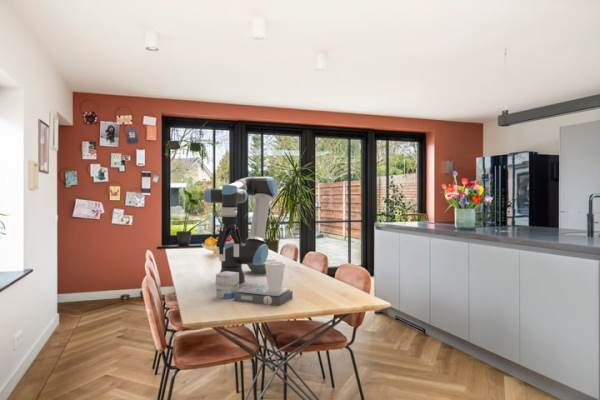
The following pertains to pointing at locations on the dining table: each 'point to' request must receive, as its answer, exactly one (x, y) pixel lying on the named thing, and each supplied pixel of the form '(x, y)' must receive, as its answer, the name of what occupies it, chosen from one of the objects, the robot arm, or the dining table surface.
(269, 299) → the scale
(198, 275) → the dining table surface
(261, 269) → the bowl
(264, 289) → the plate
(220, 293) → the ink box
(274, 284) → the foam cup
